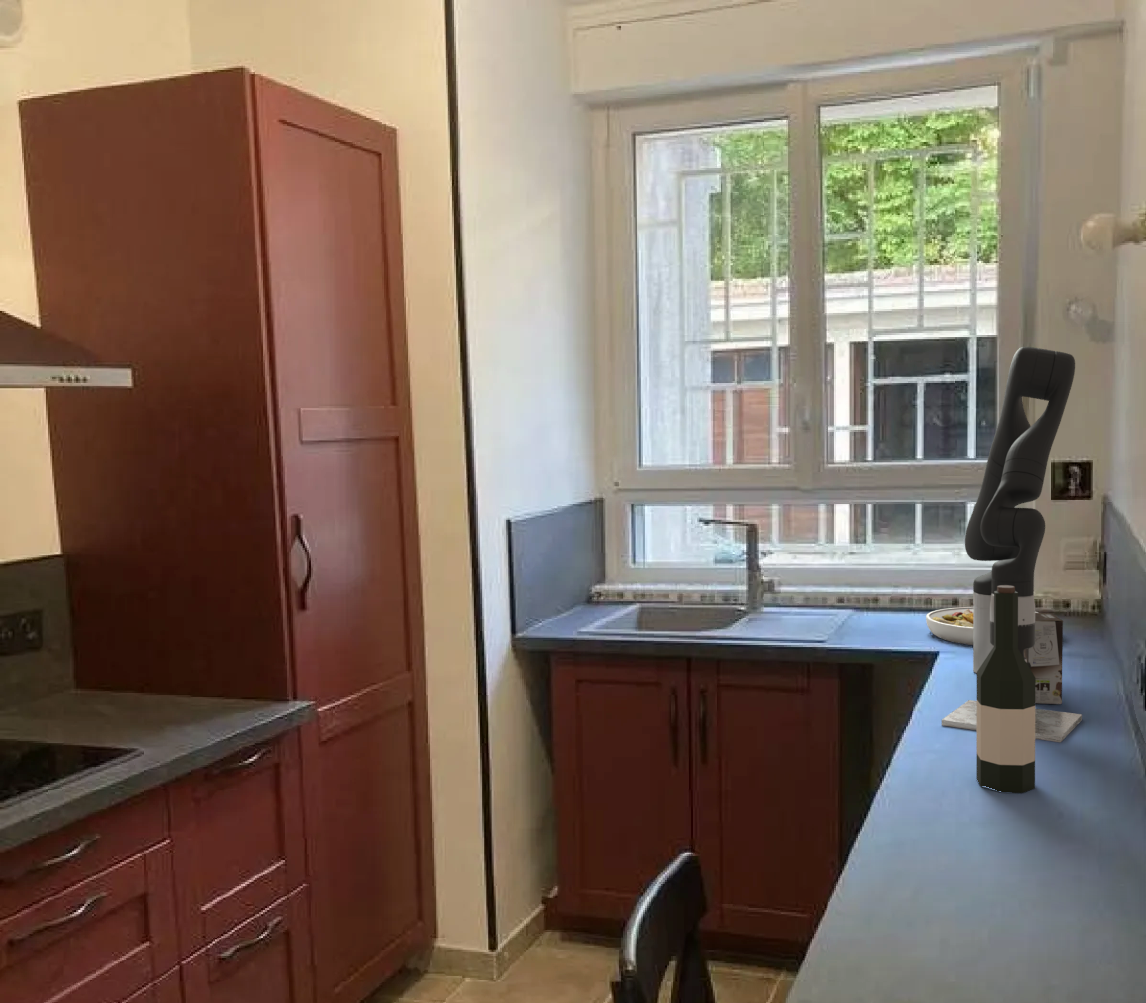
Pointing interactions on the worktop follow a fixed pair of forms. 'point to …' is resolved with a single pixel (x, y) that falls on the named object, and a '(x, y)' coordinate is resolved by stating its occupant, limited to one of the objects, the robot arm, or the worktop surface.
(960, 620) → the bowl
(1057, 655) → the coffee box
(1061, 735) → the duct plate
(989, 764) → the wine bottle
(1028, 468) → the robot arm
